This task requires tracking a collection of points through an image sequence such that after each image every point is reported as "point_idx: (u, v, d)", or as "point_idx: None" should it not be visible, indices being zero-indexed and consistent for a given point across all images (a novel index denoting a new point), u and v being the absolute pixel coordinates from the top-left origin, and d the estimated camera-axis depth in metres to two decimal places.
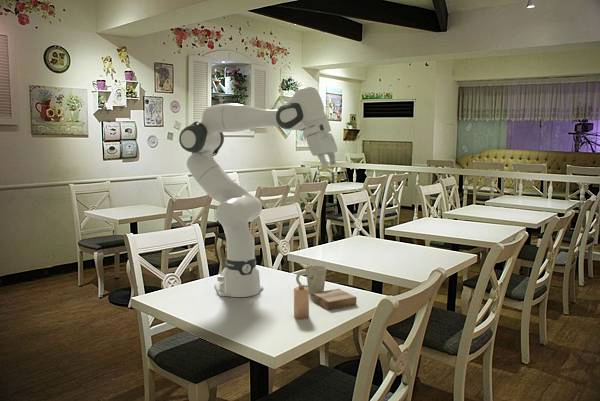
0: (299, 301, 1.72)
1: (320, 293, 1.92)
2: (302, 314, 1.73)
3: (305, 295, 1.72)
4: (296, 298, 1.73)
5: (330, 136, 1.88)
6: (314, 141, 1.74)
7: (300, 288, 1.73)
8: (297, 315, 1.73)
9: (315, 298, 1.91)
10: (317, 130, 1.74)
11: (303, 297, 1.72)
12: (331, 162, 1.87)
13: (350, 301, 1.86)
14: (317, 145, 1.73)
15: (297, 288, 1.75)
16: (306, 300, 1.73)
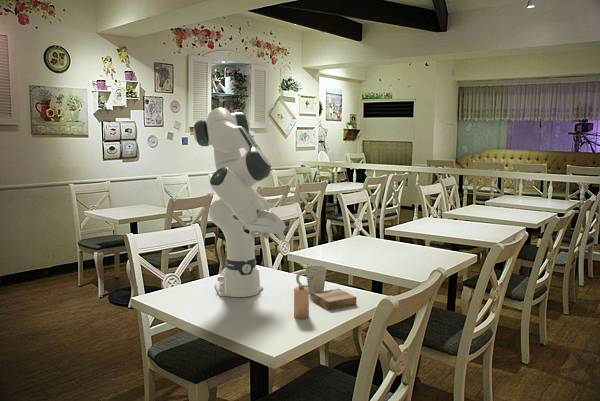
0: (299, 301, 1.72)
1: (320, 293, 1.92)
2: (302, 314, 1.73)
3: (305, 295, 1.72)
4: (296, 298, 1.73)
5: (262, 221, 1.57)
6: None
7: (300, 288, 1.73)
8: (297, 315, 1.73)
9: (315, 298, 1.91)
10: None
11: (303, 297, 1.72)
12: None
13: (350, 301, 1.86)
14: None
15: (297, 288, 1.75)
16: (306, 300, 1.73)
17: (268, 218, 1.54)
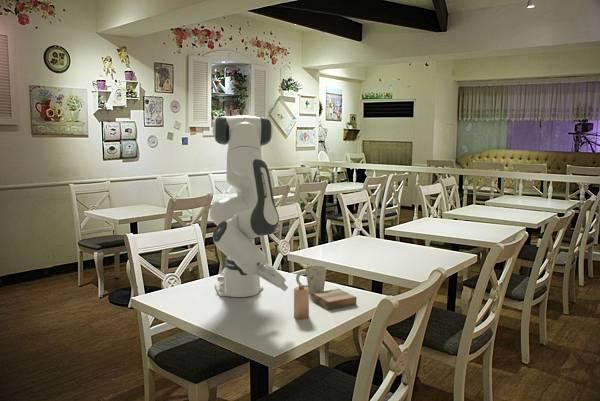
0: (299, 301, 1.72)
1: (320, 293, 1.92)
2: (302, 314, 1.73)
3: (305, 295, 1.72)
4: (296, 298, 1.73)
5: (262, 274, 1.60)
6: None
7: (300, 288, 1.73)
8: (297, 315, 1.73)
9: (315, 298, 1.91)
10: None
11: (303, 297, 1.72)
12: None
13: (350, 301, 1.86)
14: None
15: (297, 288, 1.75)
16: (306, 300, 1.73)
17: (267, 273, 1.57)
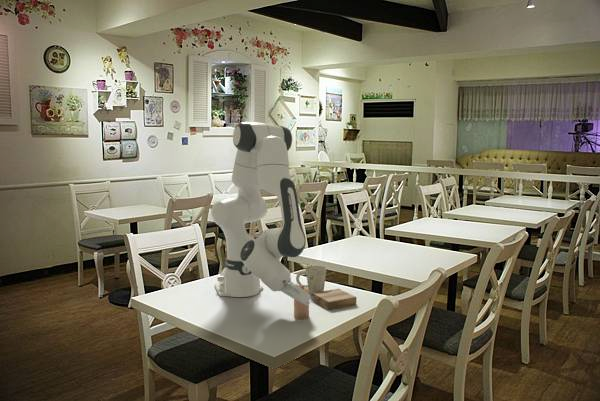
0: None
1: (320, 293, 1.92)
2: (302, 314, 1.73)
3: None
4: None
5: (288, 292, 1.65)
6: None
7: None
8: (297, 315, 1.73)
9: (315, 298, 1.91)
10: None
11: None
12: None
13: (350, 301, 1.86)
14: None
15: None
16: None
17: (293, 291, 1.62)
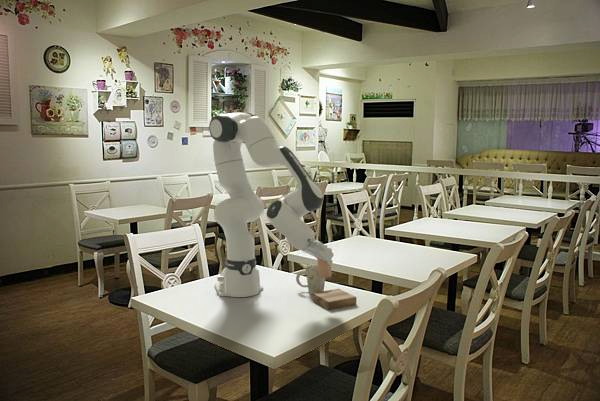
0: (323, 260, 1.80)
1: (320, 293, 1.92)
2: (325, 273, 1.81)
3: None
4: None
5: (312, 250, 1.74)
6: None
7: None
8: (320, 274, 1.81)
9: (315, 298, 1.91)
10: None
11: None
12: None
13: (350, 301, 1.86)
14: None
15: None
16: None
17: (317, 248, 1.71)
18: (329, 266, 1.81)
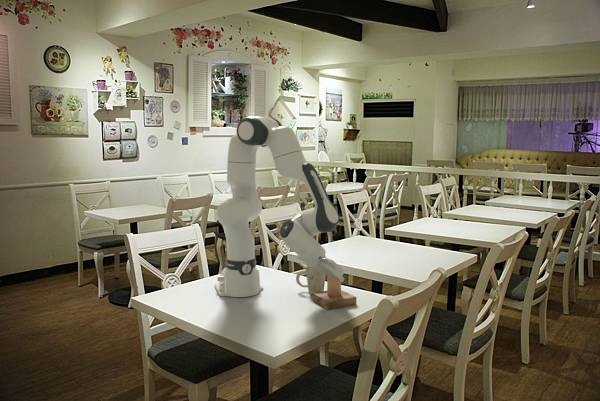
0: (333, 280, 1.86)
1: (320, 293, 1.92)
2: (335, 292, 1.87)
3: None
4: (330, 278, 1.87)
5: (323, 267, 1.79)
6: None
7: None
8: (330, 294, 1.88)
9: (315, 298, 1.91)
10: None
11: None
12: None
13: (350, 301, 1.86)
14: None
15: None
16: (338, 280, 1.87)
17: (329, 266, 1.76)
18: (339, 286, 1.88)
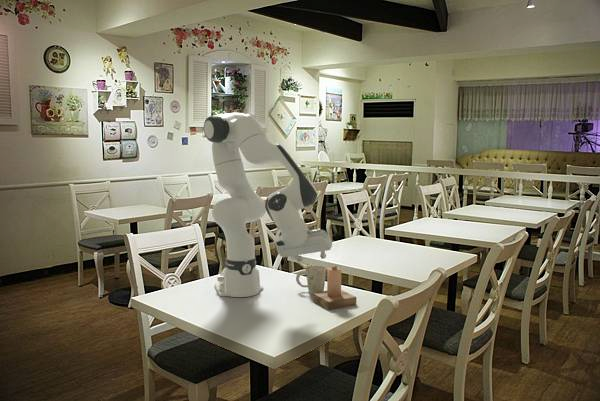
0: (333, 280, 1.87)
1: (320, 293, 1.92)
2: (335, 292, 1.87)
3: (338, 275, 1.87)
4: (330, 277, 1.87)
5: (314, 240, 1.73)
6: None
7: (333, 268, 1.88)
8: (330, 294, 1.88)
9: (315, 298, 1.91)
10: None
11: (337, 277, 1.86)
12: None
13: (350, 301, 1.86)
14: None
15: (330, 268, 1.89)
16: (338, 280, 1.87)
17: (322, 235, 1.72)
18: (339, 286, 1.88)
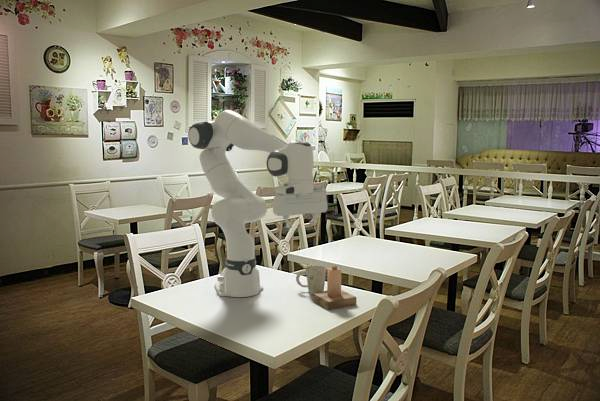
0: (333, 280, 1.87)
1: (320, 293, 1.92)
2: (335, 292, 1.87)
3: (338, 275, 1.87)
4: (330, 277, 1.87)
5: (317, 196, 1.76)
6: (276, 203, 1.70)
7: (333, 268, 1.88)
8: (330, 294, 1.88)
9: (315, 298, 1.91)
10: (282, 193, 1.68)
11: (337, 277, 1.86)
12: (310, 222, 1.78)
13: (350, 301, 1.86)
14: (276, 208, 1.69)
15: (330, 268, 1.89)
16: (339, 280, 1.87)
17: None
18: (339, 286, 1.88)
